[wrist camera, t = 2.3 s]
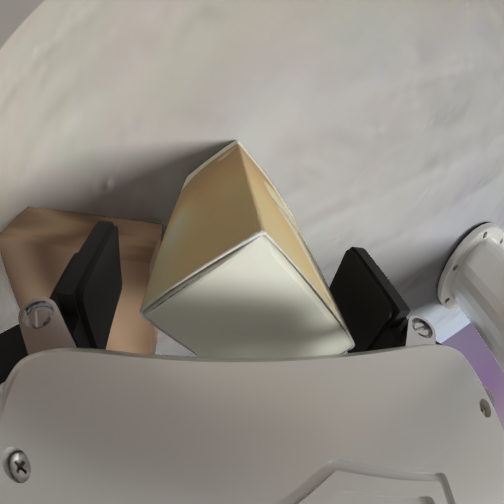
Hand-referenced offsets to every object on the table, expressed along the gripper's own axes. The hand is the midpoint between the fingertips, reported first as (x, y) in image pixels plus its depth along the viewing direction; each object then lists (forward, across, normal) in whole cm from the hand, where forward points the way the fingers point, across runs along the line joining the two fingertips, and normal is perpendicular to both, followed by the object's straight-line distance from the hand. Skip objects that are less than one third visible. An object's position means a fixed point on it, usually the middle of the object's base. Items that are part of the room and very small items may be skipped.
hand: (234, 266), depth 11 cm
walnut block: (+9, +10, +9) cm, 16 cm away
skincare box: (+9, -1, 0) cm, 9 cm away
